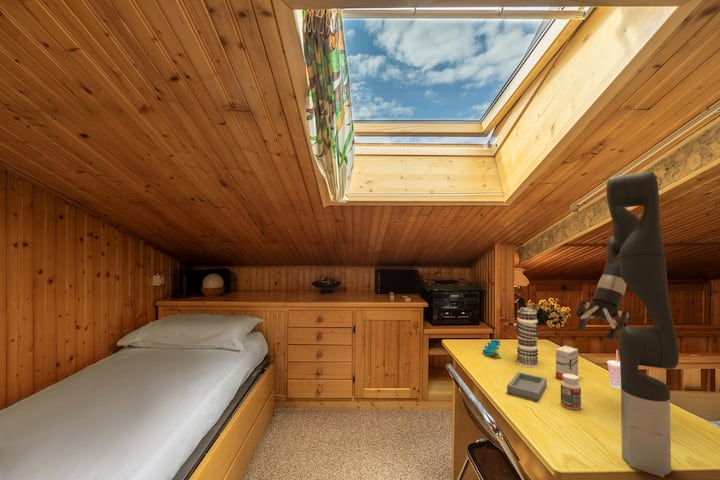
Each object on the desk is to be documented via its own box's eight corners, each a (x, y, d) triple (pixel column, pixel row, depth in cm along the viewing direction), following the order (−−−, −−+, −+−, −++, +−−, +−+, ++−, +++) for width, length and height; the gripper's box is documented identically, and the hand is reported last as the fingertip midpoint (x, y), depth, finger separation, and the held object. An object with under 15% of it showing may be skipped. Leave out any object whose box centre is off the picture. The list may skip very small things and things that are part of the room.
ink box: (568, 382, 127) (568, 352, 128) (555, 378, 132) (555, 348, 132) (578, 377, 132) (578, 348, 132) (565, 373, 136) (565, 345, 136)
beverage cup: (623, 384, 125) (623, 348, 125) (631, 391, 119) (630, 353, 120) (604, 382, 127) (604, 346, 127) (610, 389, 122) (610, 351, 122)
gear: (479, 348, 165) (494, 335, 163) (487, 356, 165) (502, 343, 163) (485, 358, 154) (501, 344, 152) (494, 367, 154) (510, 353, 152)
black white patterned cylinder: (527, 359, 153) (526, 305, 154) (544, 366, 144) (543, 309, 145) (511, 361, 150) (511, 307, 151) (527, 368, 142) (527, 311, 142)
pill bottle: (576, 412, 105) (576, 381, 105) (557, 405, 110) (557, 375, 110) (583, 406, 109) (583, 376, 109) (565, 400, 113) (564, 371, 113)
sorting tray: (538, 402, 112) (538, 393, 112) (507, 393, 118) (507, 385, 118) (546, 386, 124) (546, 378, 124) (518, 379, 130) (518, 371, 130)
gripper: (582, 282, 116) (567, 325, 114) (630, 292, 103) (614, 340, 102) (592, 289, 119) (577, 330, 118) (639, 299, 107) (624, 346, 105)
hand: (594, 335), depth 110 cm, fingers open, 8 cm apart
